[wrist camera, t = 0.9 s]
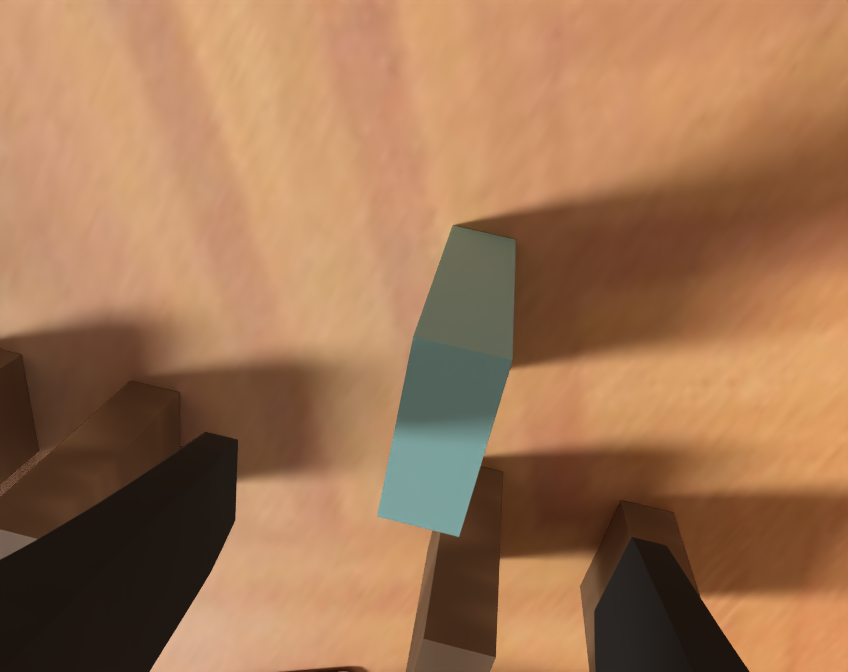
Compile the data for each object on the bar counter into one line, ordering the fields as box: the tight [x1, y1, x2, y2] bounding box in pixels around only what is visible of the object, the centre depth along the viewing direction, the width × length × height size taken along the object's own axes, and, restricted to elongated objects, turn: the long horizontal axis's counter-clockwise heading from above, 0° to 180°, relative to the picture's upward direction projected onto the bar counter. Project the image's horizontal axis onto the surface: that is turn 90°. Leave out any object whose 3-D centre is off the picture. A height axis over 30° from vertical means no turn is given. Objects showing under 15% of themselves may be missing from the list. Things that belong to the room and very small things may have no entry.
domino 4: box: [0, 381, 181, 559], centre depth 21 cm, size 2×5×8 cm, turn 170°
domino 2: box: [406, 466, 503, 672], centre depth 20 cm, size 2×5×8 cm, turn 169°
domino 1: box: [580, 500, 700, 672], centre depth 20 cm, size 2×5×8 cm, turn 169°
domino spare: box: [377, 225, 516, 537], centre depth 16 cm, size 2×5×8 cm, turn 169°
